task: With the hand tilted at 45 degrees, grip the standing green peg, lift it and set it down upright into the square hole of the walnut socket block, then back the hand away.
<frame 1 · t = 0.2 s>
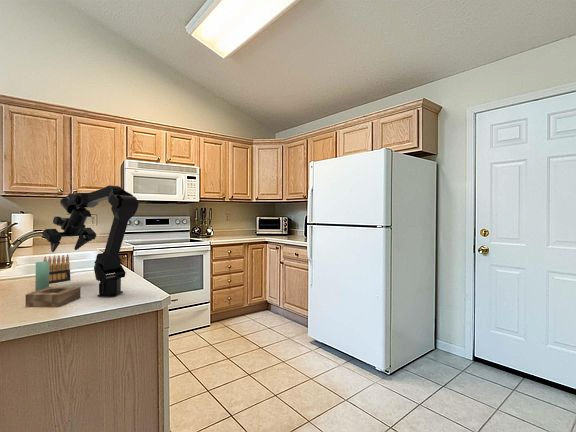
hand: (64, 250, 133), 15 cm above the counter, tool tilted 30°, fingers open, 9 cm apart
socket block: (54, 301, 109), on the counter
peg: (42, 295, 117), on the counter
ammunition clip: (56, 282, 139), on the counter
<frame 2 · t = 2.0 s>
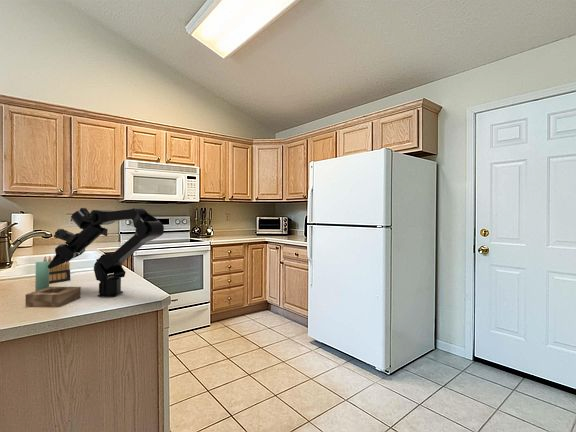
hand: (52, 265, 118), 11 cm above the counter, tool tilted 45°, fingers open, 9 cm apart
nothing on the counter moved.
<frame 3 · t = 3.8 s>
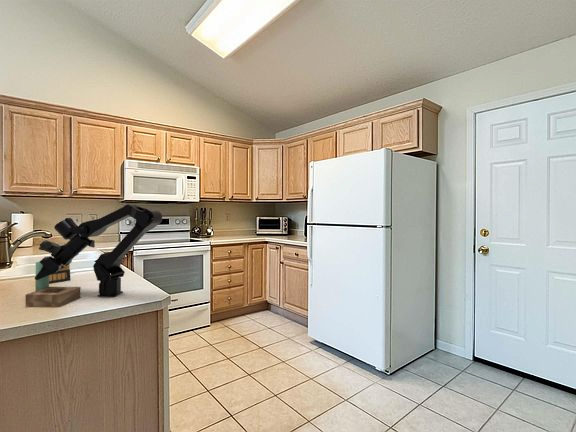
hand: (37, 278, 116), 7 cm above the counter, tool tilted 45°, fingers closed on peg, 4 cm apart
peg: (42, 295, 117), on the counter, touching gripper
everything else where it was.
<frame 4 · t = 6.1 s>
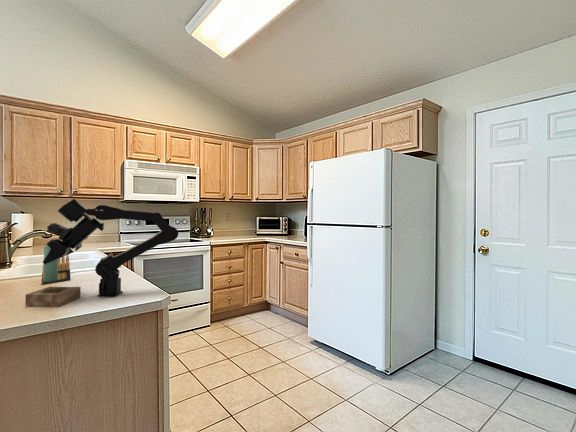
hand: (46, 262, 112), 13 cm above the counter, tool tilted 45°, fingers closed on peg, 4 cm apart
peg: (51, 280, 113), point 7 cm above the counter, touching gripper
everything else where it was.
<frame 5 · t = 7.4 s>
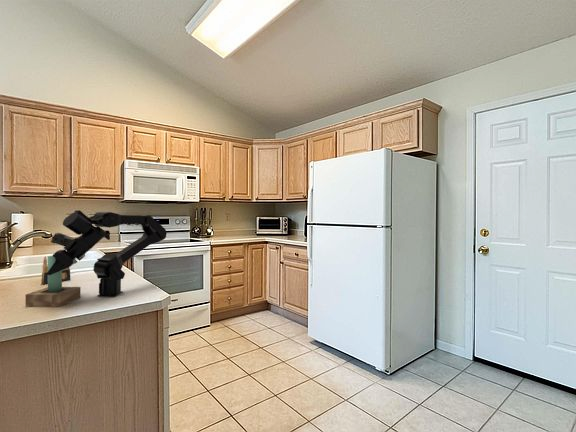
hand: (50, 273, 109), 10 cm above the counter, tool tilted 45°, fingers closed on peg, 4 cm apart
peg: (54, 291, 109), point 3 cm above the counter, touching gripper
everything else where it was.
when the fingers open (8 cm above the counter, at t = 8.3 s): peg stays where it is, resting in socket block.
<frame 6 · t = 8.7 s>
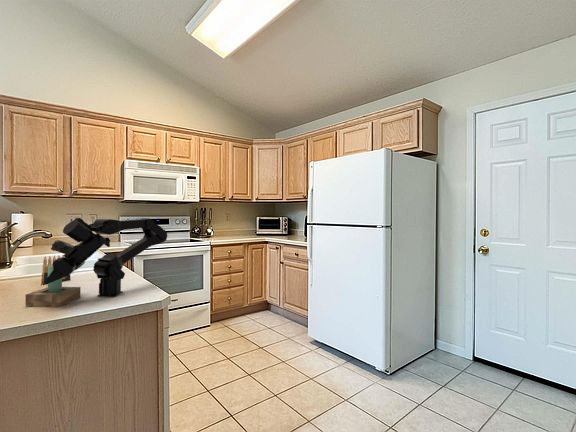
hand: (49, 280, 109), 8 cm above the counter, tool tilted 45°, fingers open, 8 cm apart
peg: (54, 301, 109), resting in socket block
everything else where it was.
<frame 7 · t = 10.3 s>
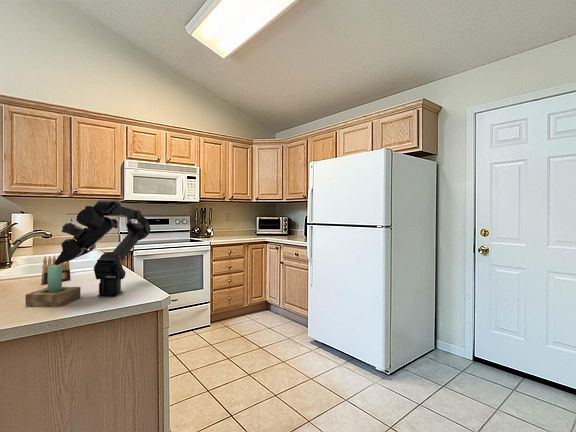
hand: (60, 262, 110), 14 cm above the counter, tool tilted 45°, fingers open, 9 cm apart
nothing on the counter moved.
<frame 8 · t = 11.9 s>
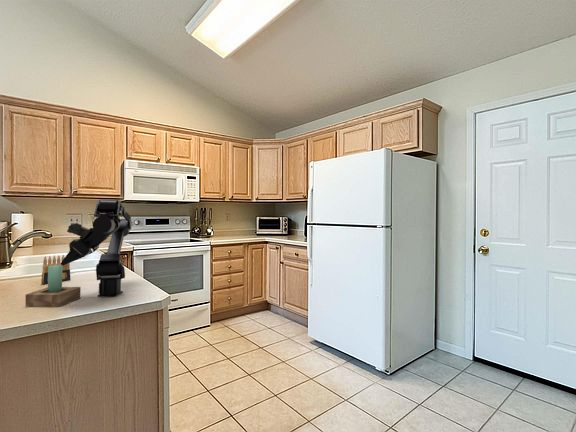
hand: (65, 262, 110), 14 cm above the counter, tool tilted 45°, fingers open, 9 cm apart
nothing on the counter moved.
at the end: peg 0.1 cm off-centre on the socket block, point 0.0 cm above the socket block's base; peg tilted 0°; the gripper is holding nothing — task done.
